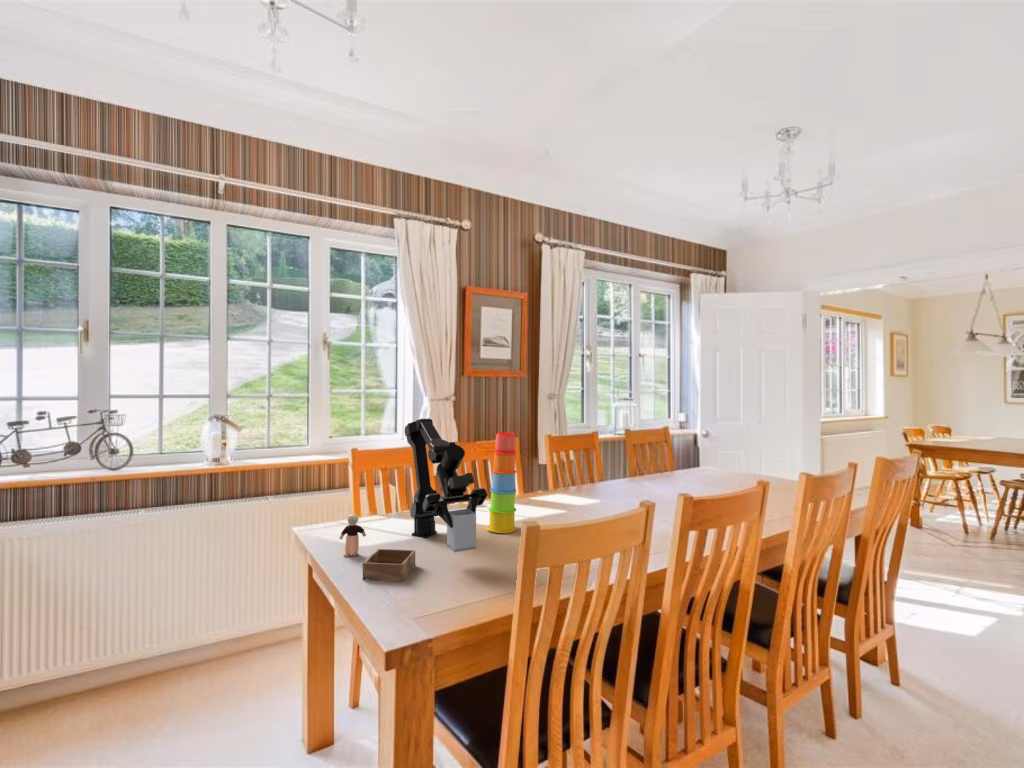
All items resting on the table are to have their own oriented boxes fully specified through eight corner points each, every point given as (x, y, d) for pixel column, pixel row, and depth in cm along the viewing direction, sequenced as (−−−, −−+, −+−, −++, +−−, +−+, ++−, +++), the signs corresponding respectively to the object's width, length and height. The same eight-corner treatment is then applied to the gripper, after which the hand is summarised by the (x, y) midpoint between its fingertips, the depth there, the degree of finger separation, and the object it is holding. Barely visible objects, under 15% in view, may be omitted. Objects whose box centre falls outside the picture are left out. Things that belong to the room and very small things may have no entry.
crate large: (378, 564, 149) (378, 548, 148) (415, 565, 147) (415, 550, 147) (362, 579, 137) (362, 563, 137) (402, 581, 136) (402, 564, 136)
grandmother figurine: (341, 559, 152) (340, 517, 152) (339, 555, 156) (338, 514, 156) (367, 554, 156) (366, 513, 156) (364, 551, 159) (364, 510, 159)
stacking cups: (490, 524, 187) (490, 430, 186) (518, 526, 185) (518, 431, 184) (484, 533, 177) (484, 434, 176) (513, 535, 175) (513, 434, 174)
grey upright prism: (447, 545, 147) (447, 511, 147) (467, 542, 150) (467, 508, 150) (454, 552, 142) (454, 516, 142) (476, 548, 145) (476, 513, 145)
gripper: (425, 466, 145) (438, 515, 135) (485, 461, 153) (501, 506, 144) (417, 488, 152) (429, 535, 142) (474, 482, 161) (489, 526, 151)
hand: (463, 525), depth 145 cm, fingers closed on grey upright prism, 6 cm apart
